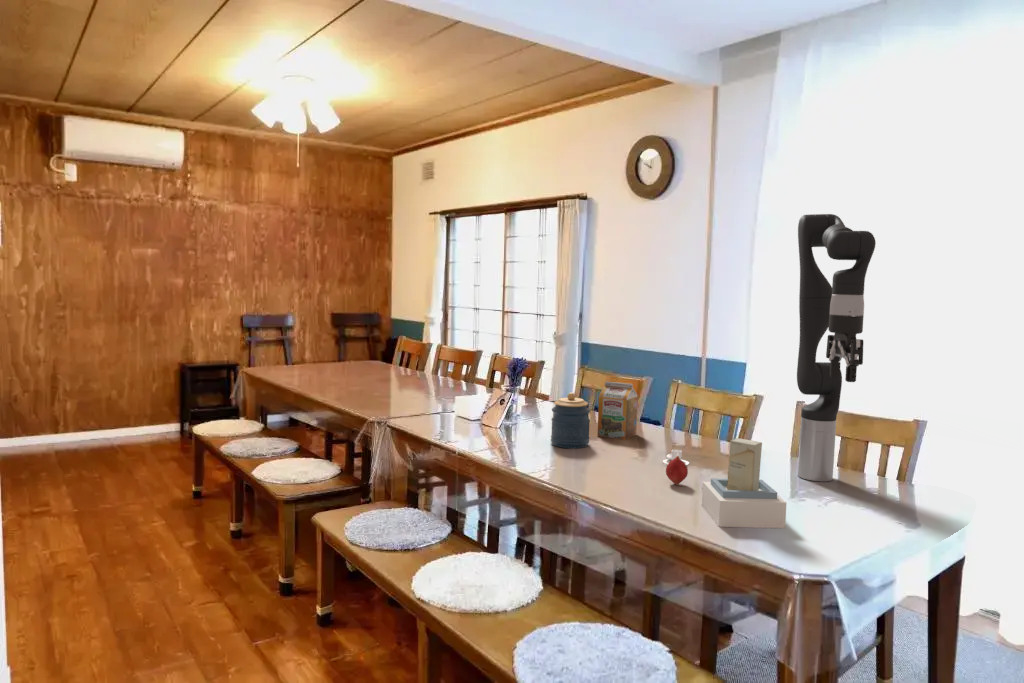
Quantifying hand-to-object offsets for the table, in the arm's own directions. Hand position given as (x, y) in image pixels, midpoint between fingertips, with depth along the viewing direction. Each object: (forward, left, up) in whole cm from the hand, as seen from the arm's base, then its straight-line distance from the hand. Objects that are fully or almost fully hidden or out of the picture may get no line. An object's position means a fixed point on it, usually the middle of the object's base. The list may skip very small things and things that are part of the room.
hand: (842, 379), depth 171 cm
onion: (-16, -36, -32) cm, 51 cm away
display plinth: (+9, -26, -32) cm, 42 cm away
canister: (-60, -62, -32) cm, 92 cm away
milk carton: (-76, -44, -32) cm, 94 cm away
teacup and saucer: (-41, -28, -33) cm, 60 cm away
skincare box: (+9, -26, -26) cm, 38 cm away
